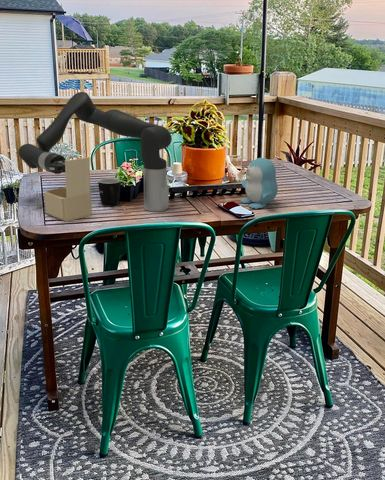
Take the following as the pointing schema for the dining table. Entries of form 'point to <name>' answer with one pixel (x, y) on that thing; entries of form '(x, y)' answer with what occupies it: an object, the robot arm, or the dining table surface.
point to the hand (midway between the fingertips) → (77, 170)
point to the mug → (109, 191)
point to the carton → (67, 205)
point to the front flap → (77, 177)
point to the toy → (260, 183)
